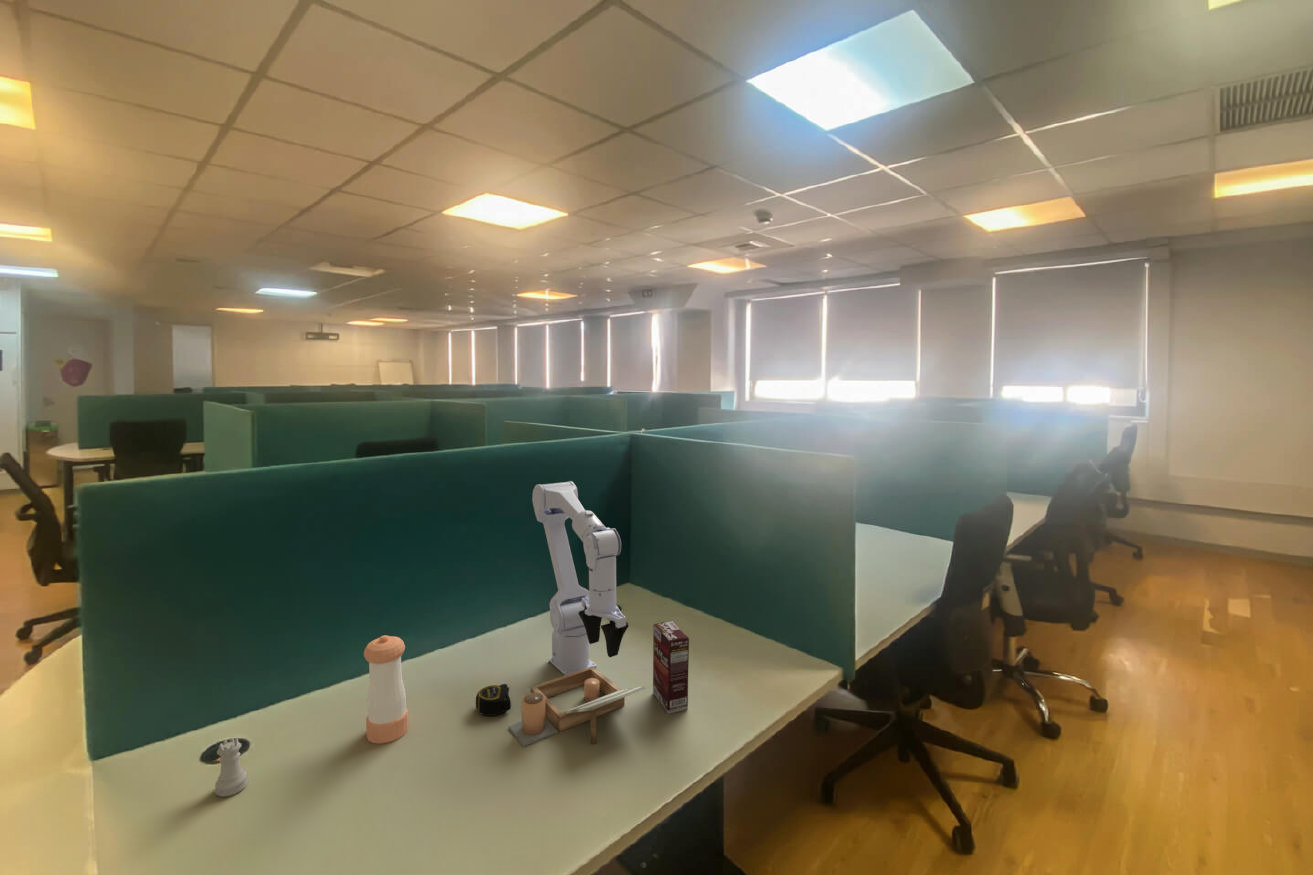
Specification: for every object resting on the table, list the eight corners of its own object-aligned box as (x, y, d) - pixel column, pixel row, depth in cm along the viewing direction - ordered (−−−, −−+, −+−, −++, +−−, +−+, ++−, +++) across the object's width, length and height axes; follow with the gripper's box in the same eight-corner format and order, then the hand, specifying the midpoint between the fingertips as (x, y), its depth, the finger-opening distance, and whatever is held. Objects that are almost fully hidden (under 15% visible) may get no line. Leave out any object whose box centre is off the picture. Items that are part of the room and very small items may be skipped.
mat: (508, 727, 111) (508, 725, 111) (541, 715, 115) (541, 713, 115) (523, 746, 105) (523, 744, 105) (557, 732, 109) (557, 730, 109)
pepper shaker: (416, 723, 111) (413, 630, 109) (390, 746, 104) (386, 647, 102) (385, 717, 113) (382, 625, 111) (357, 739, 106) (353, 642, 104)
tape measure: (511, 716, 115) (511, 698, 114) (475, 721, 113) (475, 703, 112) (509, 697, 121) (509, 681, 121) (475, 702, 119) (475, 685, 119)
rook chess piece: (244, 775, 97) (240, 730, 96) (252, 787, 94) (249, 742, 93) (211, 789, 93) (208, 744, 92) (219, 802, 91) (215, 755, 90)
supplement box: (651, 693, 123) (652, 623, 122) (671, 688, 125) (673, 619, 124) (667, 715, 115) (668, 640, 114) (688, 710, 117) (690, 636, 116)
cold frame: (530, 700, 120) (530, 660, 119) (592, 678, 129) (592, 640, 128) (584, 757, 102) (584, 710, 101) (651, 727, 111) (651, 683, 110)
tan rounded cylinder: (581, 696, 122) (581, 681, 121) (594, 691, 124) (594, 676, 123) (589, 703, 119) (589, 687, 119) (602, 698, 121) (602, 683, 121)
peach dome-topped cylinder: (518, 726, 110) (517, 696, 110) (538, 718, 113) (538, 688, 112) (529, 738, 107) (528, 707, 106) (549, 728, 110) (549, 698, 109)
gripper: (569, 581, 123) (570, 641, 125) (604, 601, 112) (605, 667, 113) (597, 574, 128) (597, 633, 129) (634, 593, 116) (634, 657, 117)
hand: (603, 648), depth 121 cm, fingers open, 7 cm apart
